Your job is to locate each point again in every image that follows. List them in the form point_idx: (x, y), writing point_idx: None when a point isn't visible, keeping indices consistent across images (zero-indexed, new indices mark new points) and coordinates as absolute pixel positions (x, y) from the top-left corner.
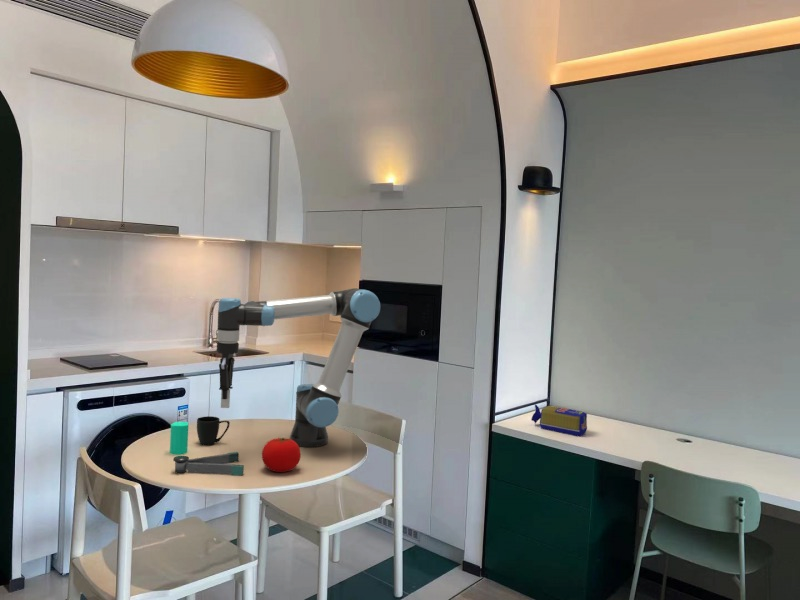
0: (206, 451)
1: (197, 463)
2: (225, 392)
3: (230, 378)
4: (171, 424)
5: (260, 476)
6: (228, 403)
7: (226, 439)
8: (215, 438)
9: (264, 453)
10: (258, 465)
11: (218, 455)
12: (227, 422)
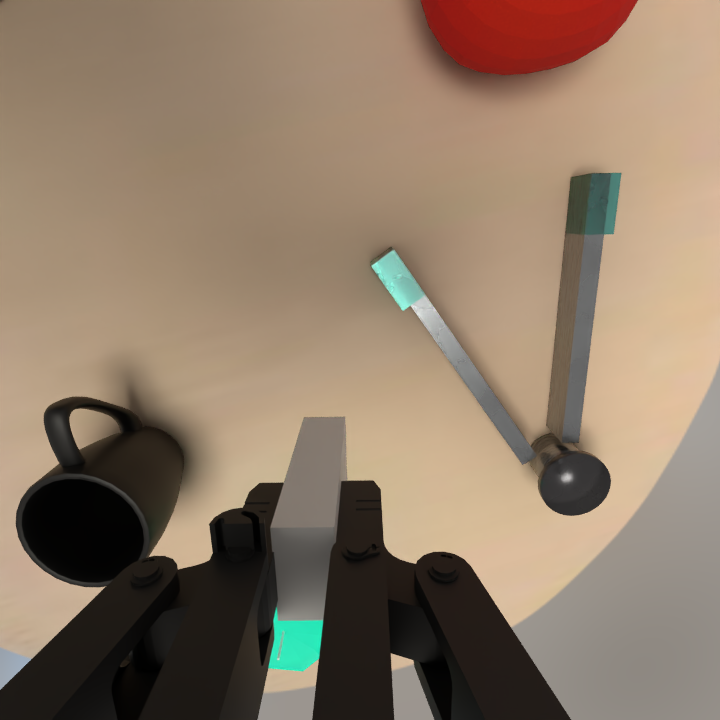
0: (268, 430)
1: (575, 404)
2: (382, 543)
3: (202, 682)
4: (303, 668)
5: (609, 75)
6: (343, 437)
7: (58, 391)
8: (141, 433)
9: (615, 28)
10: (439, 126)
11: (446, 343)
12: (68, 416)
